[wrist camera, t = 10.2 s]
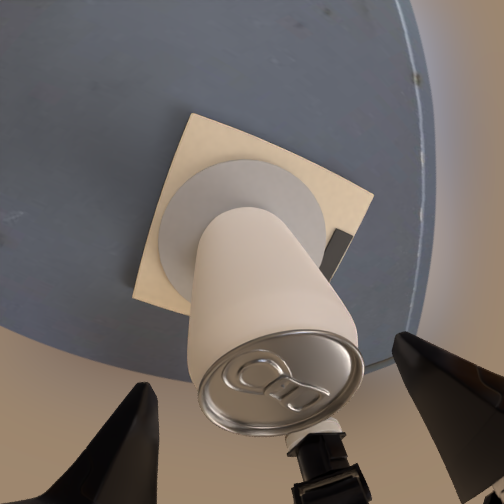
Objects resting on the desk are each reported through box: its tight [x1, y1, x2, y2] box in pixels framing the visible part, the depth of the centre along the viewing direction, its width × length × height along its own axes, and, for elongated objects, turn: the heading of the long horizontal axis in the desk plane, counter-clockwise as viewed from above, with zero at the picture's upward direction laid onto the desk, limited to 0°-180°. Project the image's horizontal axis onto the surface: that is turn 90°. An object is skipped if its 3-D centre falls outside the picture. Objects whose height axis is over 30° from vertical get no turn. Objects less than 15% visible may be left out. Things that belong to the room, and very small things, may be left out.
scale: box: [132, 113, 374, 316], centre depth 20 cm, size 14×14×2 cm
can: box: [187, 207, 364, 437], centre depth 14 cm, size 6×6×12 cm
